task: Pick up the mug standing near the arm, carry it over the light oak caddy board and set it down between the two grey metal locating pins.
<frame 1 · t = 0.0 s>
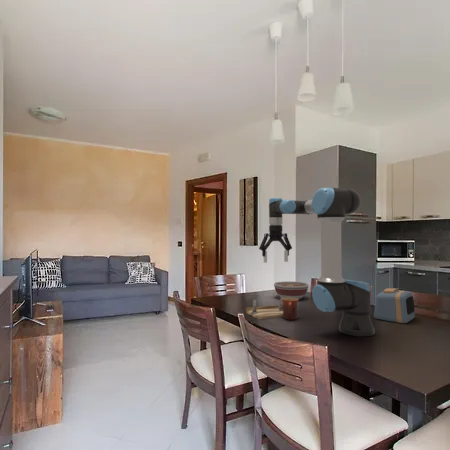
hand: (275, 262, 198), 28 cm above the table, fingers open, 13 cm apart
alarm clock: (394, 319, 180), on the table
mug: (290, 319, 179), on the table
caddy: (268, 314, 190), on the table
bowl: (291, 298, 235), on the table
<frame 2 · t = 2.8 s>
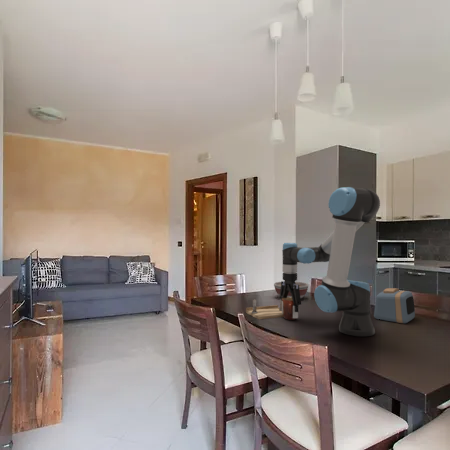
hand: (289, 315, 179), 2 cm above the table, fingers closed on mug, 10 cm apart
mug: (290, 319, 179), on the table, touching gripper
everything else where it was.
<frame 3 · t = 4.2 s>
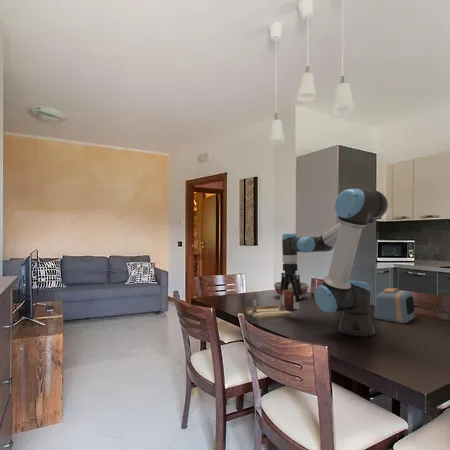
hand: (290, 306, 178), 7 cm above the table, fingers closed on mug, 9 cm apart
mug: (290, 311, 178), point 4 cm above the table, touching gripper
everything else where it was.
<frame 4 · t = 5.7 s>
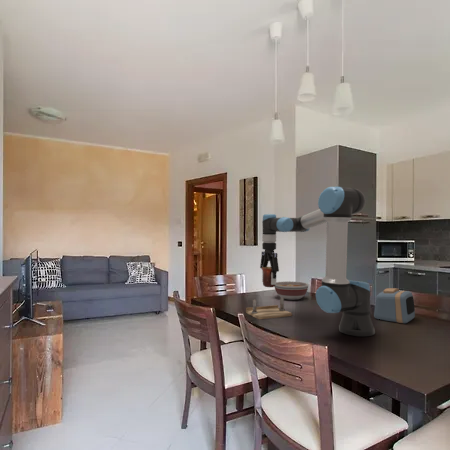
hand: (269, 283, 190), 17 cm above the table, fingers closed on mug, 9 cm apart
mug: (268, 287, 190), point 15 cm above the table, touching gripper
everything else where it was.
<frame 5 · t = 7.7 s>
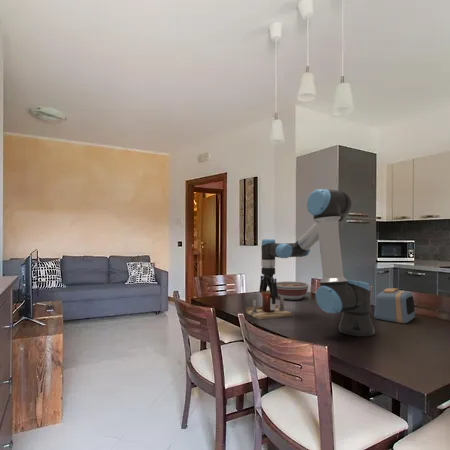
hand: (268, 307, 190), 3 cm above the table, fingers closed on mug, 9 cm apart
mug: (268, 311, 190), point 1 cm above the table, touching caddy, gripper
everything else where it was.
when the fingers open (3 cm above the table, at t = 8.0 s): mug stays where it is, resting on caddy.
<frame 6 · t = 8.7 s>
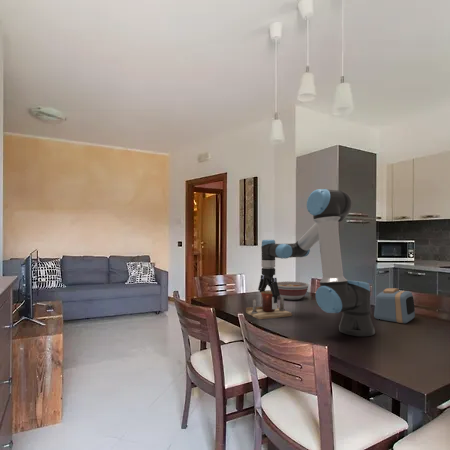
hand: (268, 306, 190), 4 cm above the table, fingers open, 13 cm apart
mug: (268, 312, 190), point 1 cm above the table, touching caddy
everything else where it was.
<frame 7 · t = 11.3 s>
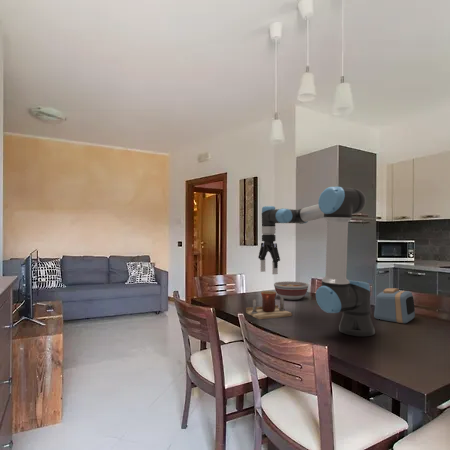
hand: (268, 272, 190), 23 cm above the table, fingers open, 13 cm apart
nothing on the table moved.
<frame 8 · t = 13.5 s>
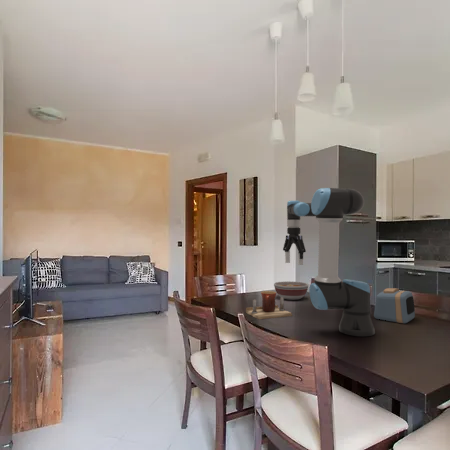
hand: (293, 263, 201), 27 cm above the table, fingers open, 13 cm apart
nothing on the table moved.
at the end: mug inside the target area on the caddy (0.2 cm from its centre), point 1.3 cm above the caddy's base; mug tilted 0°; the gripper is holding nothing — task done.
